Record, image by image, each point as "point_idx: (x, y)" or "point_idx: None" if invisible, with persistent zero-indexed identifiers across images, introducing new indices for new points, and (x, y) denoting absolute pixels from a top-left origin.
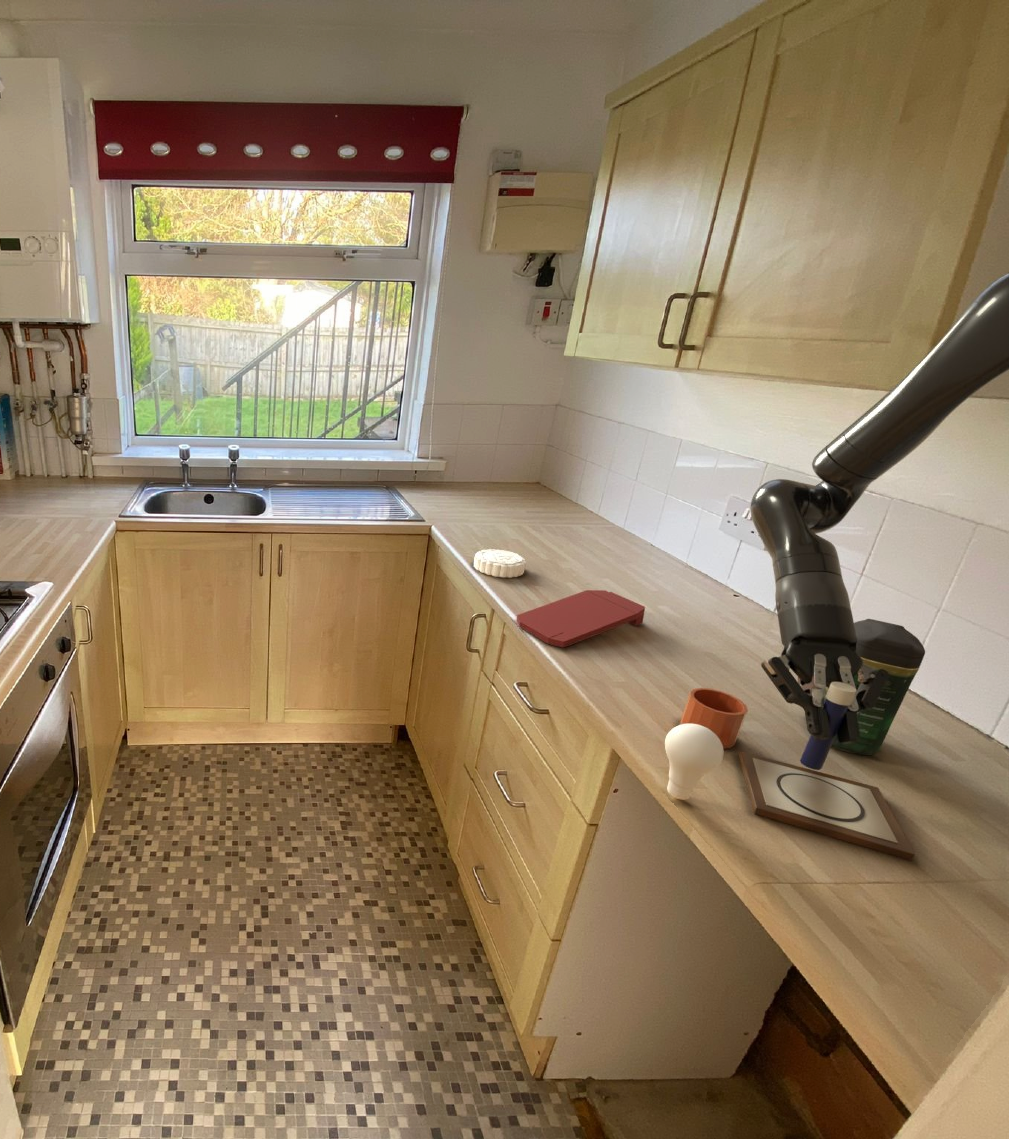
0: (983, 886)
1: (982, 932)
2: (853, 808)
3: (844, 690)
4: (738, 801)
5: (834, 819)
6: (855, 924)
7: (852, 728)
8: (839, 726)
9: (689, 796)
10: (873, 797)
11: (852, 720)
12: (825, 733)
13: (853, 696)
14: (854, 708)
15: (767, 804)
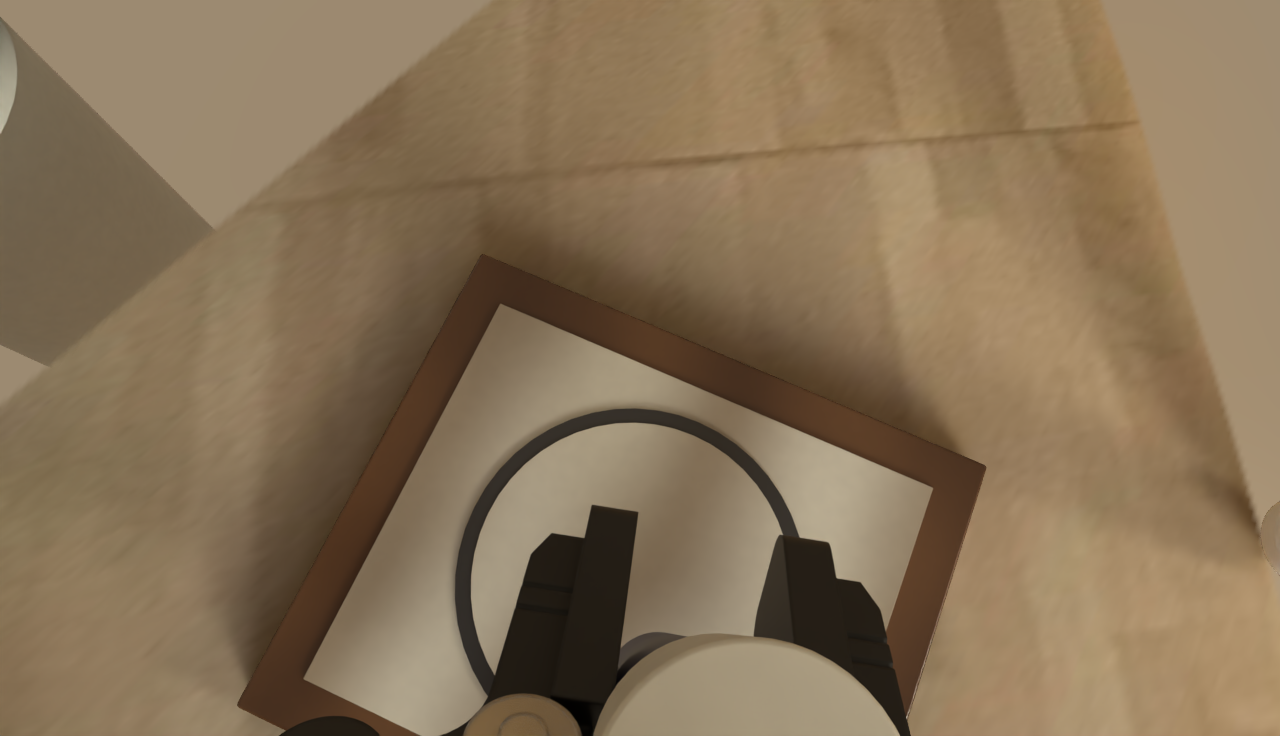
0: (325, 175)
1: (525, 6)
2: (527, 499)
3: (833, 672)
4: (1001, 552)
5: (678, 412)
6: (904, 4)
7: (602, 562)
8: (639, 653)
9: (1272, 510)
10: (344, 606)
11: (575, 622)
12: (820, 546)
13: (659, 657)
14: (515, 720)
15: (929, 488)
